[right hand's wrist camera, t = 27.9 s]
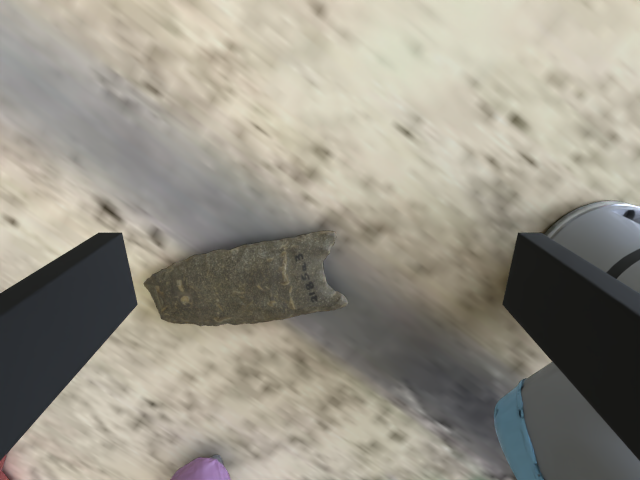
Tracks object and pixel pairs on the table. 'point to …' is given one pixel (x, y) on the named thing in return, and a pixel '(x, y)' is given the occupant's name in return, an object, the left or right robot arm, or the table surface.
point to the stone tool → (248, 283)
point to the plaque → (0, 477)
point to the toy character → (203, 470)
